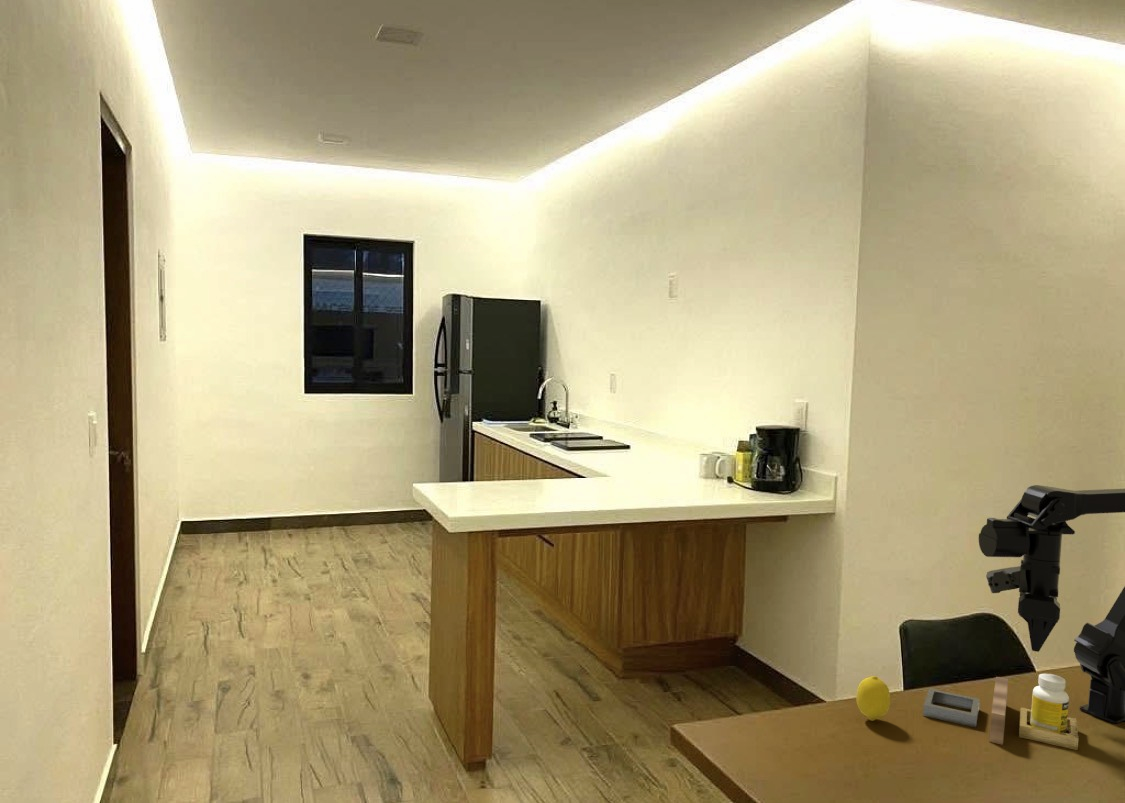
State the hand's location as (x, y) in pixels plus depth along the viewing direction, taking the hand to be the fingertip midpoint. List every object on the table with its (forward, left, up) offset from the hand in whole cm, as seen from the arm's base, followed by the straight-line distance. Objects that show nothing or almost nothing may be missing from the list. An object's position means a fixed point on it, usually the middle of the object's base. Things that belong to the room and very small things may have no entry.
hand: (1035, 643), depth 152 cm
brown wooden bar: (+9, 0, -13) cm, 16 cm away
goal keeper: (+5, +6, -13) cm, 15 cm away
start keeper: (+13, -6, -13) cm, 19 cm away
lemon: (+29, -10, -13) cm, 33 cm away
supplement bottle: (+5, +6, -13) cm, 15 cm away
